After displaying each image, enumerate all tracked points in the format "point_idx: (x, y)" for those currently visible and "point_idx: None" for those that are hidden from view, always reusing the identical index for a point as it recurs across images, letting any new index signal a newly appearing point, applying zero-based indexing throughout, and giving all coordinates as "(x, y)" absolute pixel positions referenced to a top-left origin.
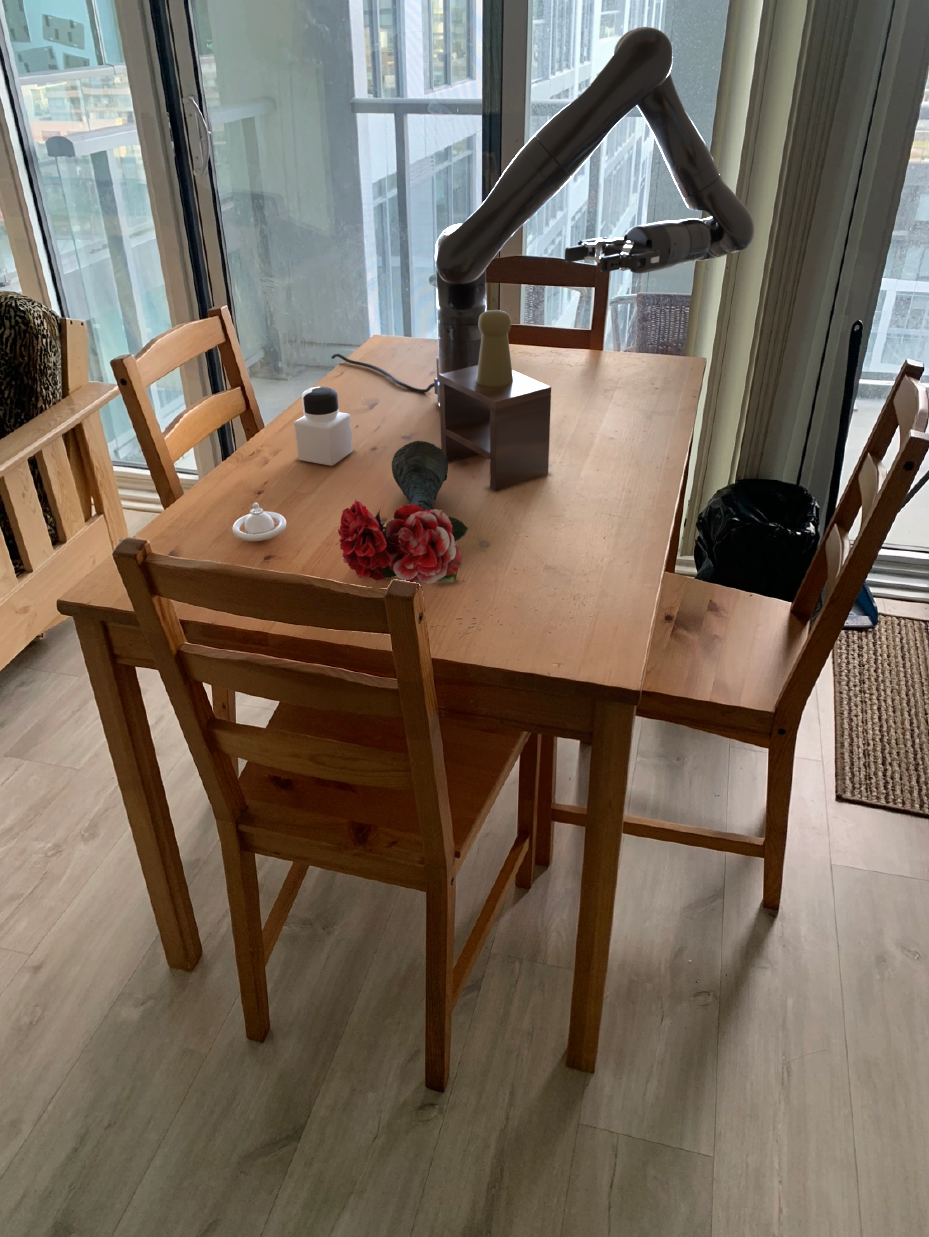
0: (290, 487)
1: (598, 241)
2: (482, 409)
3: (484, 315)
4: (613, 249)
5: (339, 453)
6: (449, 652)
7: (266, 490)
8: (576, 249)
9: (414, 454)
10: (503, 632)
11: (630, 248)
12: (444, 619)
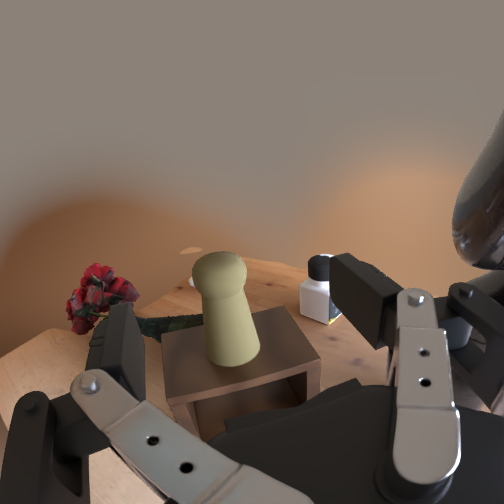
0: (270, 295)
1: (400, 328)
2: (296, 388)
3: (214, 252)
4: (293, 412)
5: (309, 312)
6: (50, 329)
7: (271, 286)
8: (354, 281)
9: (192, 316)
10: (40, 349)
11: (104, 430)
12: (68, 334)
